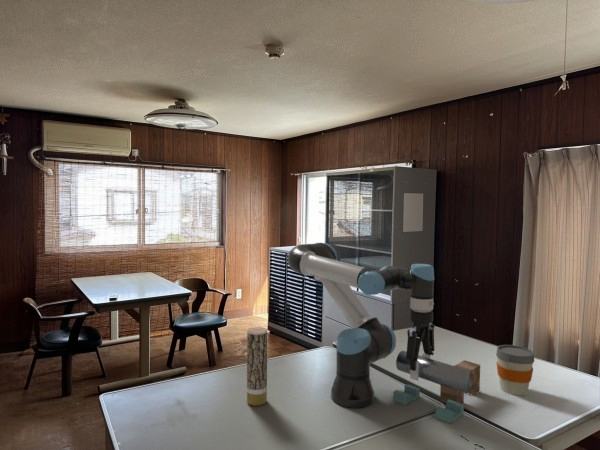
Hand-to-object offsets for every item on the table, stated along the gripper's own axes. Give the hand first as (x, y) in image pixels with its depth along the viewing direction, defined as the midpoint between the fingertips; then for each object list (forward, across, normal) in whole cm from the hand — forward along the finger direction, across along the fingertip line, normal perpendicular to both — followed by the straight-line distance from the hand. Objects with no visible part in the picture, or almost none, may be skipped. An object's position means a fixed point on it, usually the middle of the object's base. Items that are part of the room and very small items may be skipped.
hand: (420, 375), depth 139 cm
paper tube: (+10, -41, +38) cm, 57 cm away
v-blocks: (+10, 0, -3) cm, 10 cm away
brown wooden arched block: (+10, +16, -7) cm, 20 cm away
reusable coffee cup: (+10, +36, -18) cm, 41 cm away
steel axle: (0, 0, -4) cm, 5 cm away
